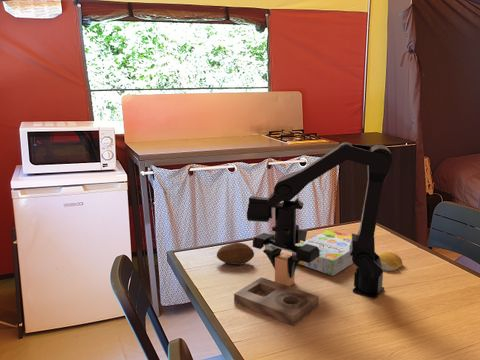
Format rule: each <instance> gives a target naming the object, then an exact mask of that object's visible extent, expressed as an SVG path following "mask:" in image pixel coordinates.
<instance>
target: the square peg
mask: <svg viewBox="0 0 480 360" xmlns="http://www.w3.org/2000/svg"><path fill="white" fill-rule="evenodd" d="M290 256H292V254H287V253H285V252H281V254H280V255H279V256H277V257H275V269H274V282H277V283H280V284H283V285H286V286H289V287H291V286H293V284H295V280H296V279H295V278H296V277H295V275H296V273H294V275H293V277H292V278H290V276H289V269H288V258H289V257H290Z"/></svg>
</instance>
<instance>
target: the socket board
mask: <svg viewBox="0 0 480 360" xmlns="http://www.w3.org/2000/svg"><path fill="white" fill-rule="evenodd" d="M259 292H260V293H263V294H266V295H265V296H261V295H258V293H259ZM319 297H320V296H319V295H316V294H313V293H311V292H307V291H304V290H301V289H298V288H295V287H293V286H286V285H283V284H280V283H277V282H275V280H274V281H273V280H271V279H268V278H265V277H262V276H261V277H259V278H257V279H256V280H253V282H251V283H250V284H248V285H245V286H244V287H243V288H242V289H239V290H238V291H236V292H235V293H233V302H234V304H236V305H238V306H239V305H240V306H242V307H244V308H247V309H250V310H253V311H255V312H258V313H259V314H263V315H264V316H267V317H270V318H272V319H275V320H278V321H279V322H282V323H285V324H288V325H290V326H293V327H294V326H295V325H297V324H298V323H299V322H300V321H301V320H302V319H304V318H305V317H307V315H309V313H311V312H312V311H313V310H315V309H316V308H317V307H318V306H319V301H320V299H319Z"/></svg>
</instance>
